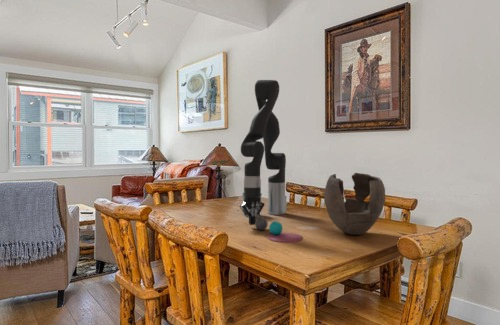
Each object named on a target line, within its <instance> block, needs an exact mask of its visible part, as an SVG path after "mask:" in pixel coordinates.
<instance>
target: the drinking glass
mask: <svg viewBox="0 0 500 325" xmlns="http://www.w3.org/2000/svg"><path fill="white" fill-rule="evenodd" d="M262 194H263V193H262V192H261V196H260V199H261V200H262ZM244 199H245V197H244V192H242V204H243V203H244ZM243 216H244V217H247V218H249V216H247V215H245V214H244V213H243ZM257 217H258V218H259V217H261V213H260V214H259V215H256V218H257Z"/></svg>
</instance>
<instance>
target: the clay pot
mask: <svg viewBox="0 0 500 325" xmlns="http://www.w3.org/2000/svg"><path fill="white" fill-rule="evenodd" d="M351 179H352V182H353V185H354V186H353V190H354V198H352V197H347V198H346V199H345V197H344V191H345V189H344V181H343V180H342V179H341V178H337V174H336V173H334V174H332V175H331V174H330V175H329V177H328V179H327V181H326V184H325V187H324V198H323V200H324V204H325V208H326V212H327V215H328V216H329V219H330V221H331V222H332V223H333V224H334V225H335V227H337V228H338V229H339V230H340V231H341V232H343V233H345V234H347V235H351V236H353V235H354V236H359V235H363V234H366V233H367V232H369V230H370V229H371V228H372V227H373V226H374V225H375V223H377V222H378V221H377V220H378V219H379V217H380V216H381V214H382V212H383V210H384V209H383V208H384V207H385V202H386V188H385V185H384V183H383V180H382V179H381V178H380V177H378V176H375V175H374V176H373V175H371V174H368V173H367V174H366V173H362V172H361V173H358V172H354V173H353V174H352V175H351ZM367 198H368V202H367V201H365V200H366V199H367Z"/></svg>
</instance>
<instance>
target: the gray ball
mask: <svg viewBox="0 0 500 325" xmlns="http://www.w3.org/2000/svg"><path fill="white" fill-rule="evenodd" d="M268 224H269V223H268V220H267V219H266V218H265V217H261V216H260V217H258V218H256V221H255V225H254V226H255V228H256V229H257V230H258V231H264V230H266V229H267V227H268Z"/></svg>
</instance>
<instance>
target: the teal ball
mask: <svg viewBox="0 0 500 325" xmlns="http://www.w3.org/2000/svg"><path fill="white" fill-rule="evenodd" d="M268 230H269V233H271V234H273V235H279V234H280V233H283V225H282V224H281V222H280V221H276V220H275V221H272V222H271V223H270V224H269V226H268Z"/></svg>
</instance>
